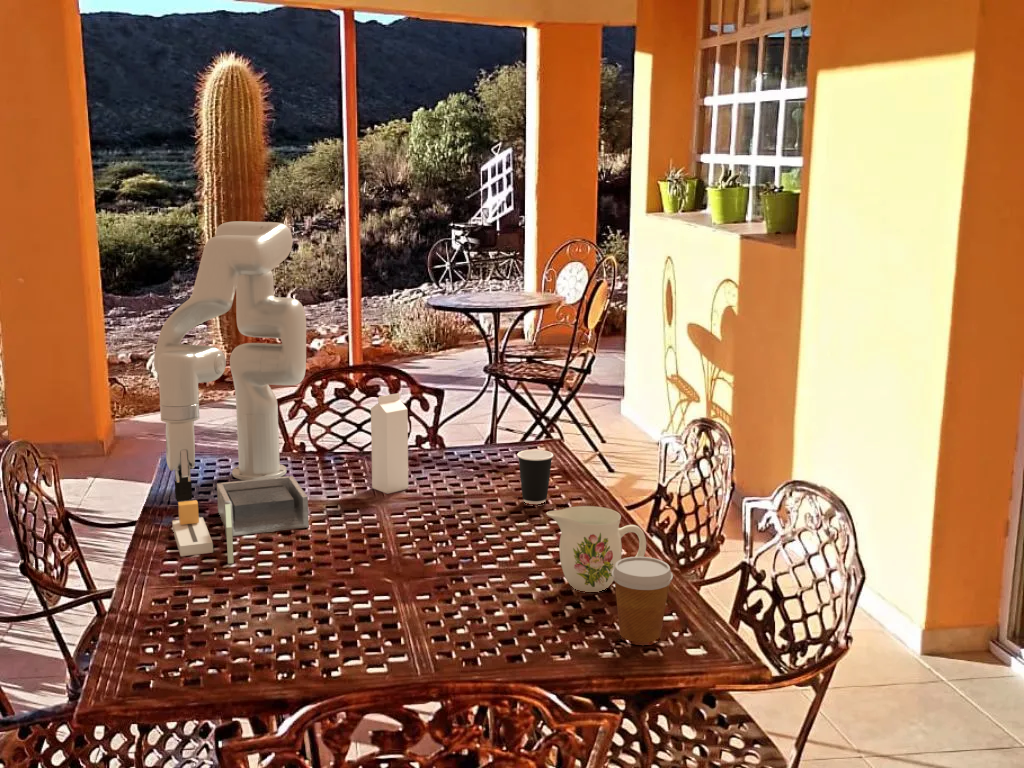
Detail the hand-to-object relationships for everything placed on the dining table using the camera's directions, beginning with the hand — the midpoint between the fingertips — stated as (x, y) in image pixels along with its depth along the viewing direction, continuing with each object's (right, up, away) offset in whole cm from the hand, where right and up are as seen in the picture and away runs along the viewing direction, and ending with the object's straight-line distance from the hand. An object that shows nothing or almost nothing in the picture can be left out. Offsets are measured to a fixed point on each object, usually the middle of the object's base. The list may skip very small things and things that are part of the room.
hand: (183, 499), depth 222 cm
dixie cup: (+72, -3, +18) cm, 74 cm away
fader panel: (+4, -7, -9) cm, 12 cm away
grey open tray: (+15, -5, +4) cm, 16 cm away
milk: (+39, -1, +27) cm, 47 cm away
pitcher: (+82, -12, -29) cm, 88 cm away
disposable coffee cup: (+88, -17, -50) cm, 102 cm away
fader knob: (+2, -4, -4) cm, 7 cm away
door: (+13, -8, -14) cm, 21 cm away
